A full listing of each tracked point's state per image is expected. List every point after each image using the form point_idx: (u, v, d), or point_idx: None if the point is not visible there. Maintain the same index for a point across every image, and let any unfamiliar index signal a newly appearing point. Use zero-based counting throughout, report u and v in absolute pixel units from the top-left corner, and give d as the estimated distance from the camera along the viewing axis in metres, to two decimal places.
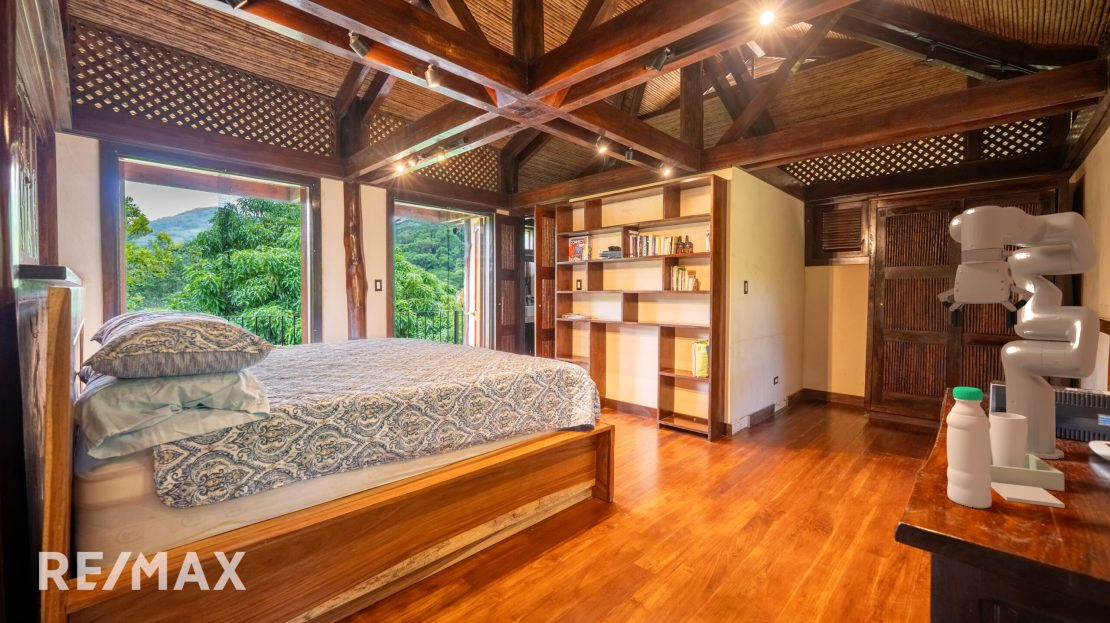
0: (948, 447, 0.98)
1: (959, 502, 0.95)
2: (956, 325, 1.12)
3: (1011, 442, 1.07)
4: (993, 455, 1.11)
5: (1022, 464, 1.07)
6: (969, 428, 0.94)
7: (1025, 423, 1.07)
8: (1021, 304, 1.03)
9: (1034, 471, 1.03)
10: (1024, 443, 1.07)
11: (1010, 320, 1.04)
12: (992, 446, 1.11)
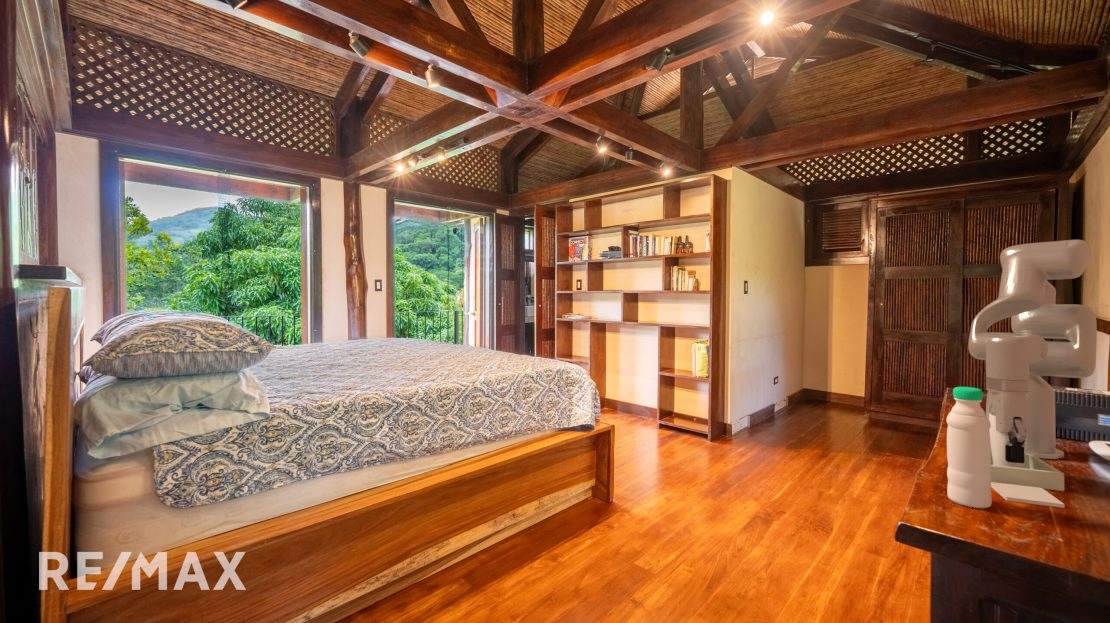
0: (948, 447, 0.98)
1: (959, 502, 0.95)
2: None
3: None
4: (993, 455, 1.11)
5: (1022, 464, 1.07)
6: (970, 428, 0.94)
7: None
8: None
9: (1034, 471, 1.03)
10: None
11: None
12: (992, 446, 1.11)
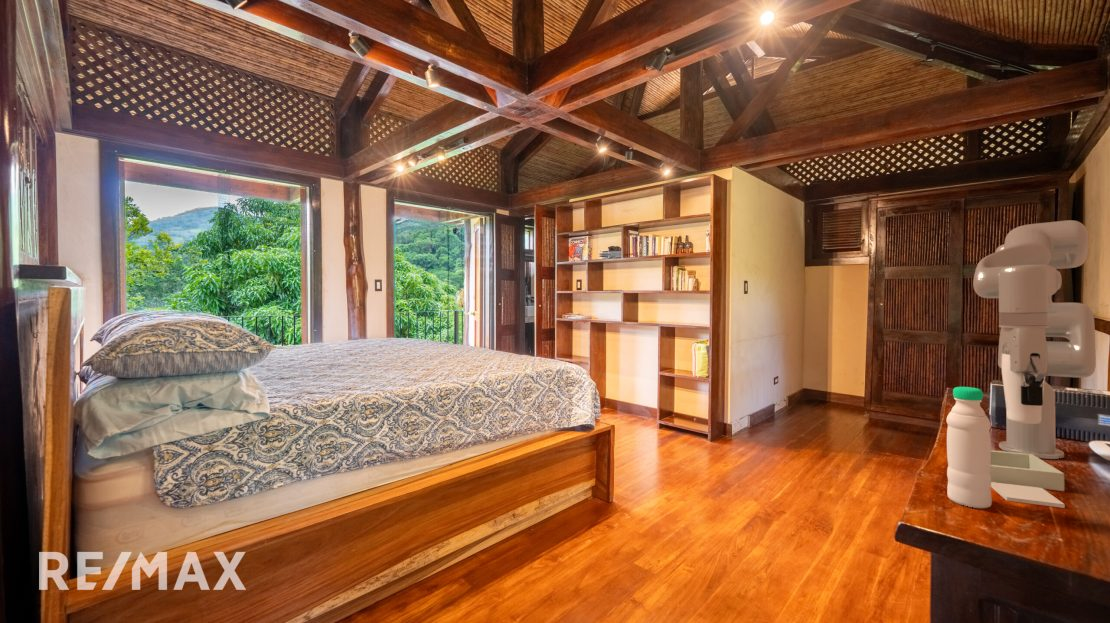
0: (948, 447, 0.98)
1: (959, 502, 0.95)
2: None
3: None
4: (1007, 399, 1.00)
5: (1039, 407, 0.96)
6: (970, 428, 0.94)
7: None
8: None
9: (1034, 471, 1.03)
10: None
11: None
12: (1005, 389, 1.00)
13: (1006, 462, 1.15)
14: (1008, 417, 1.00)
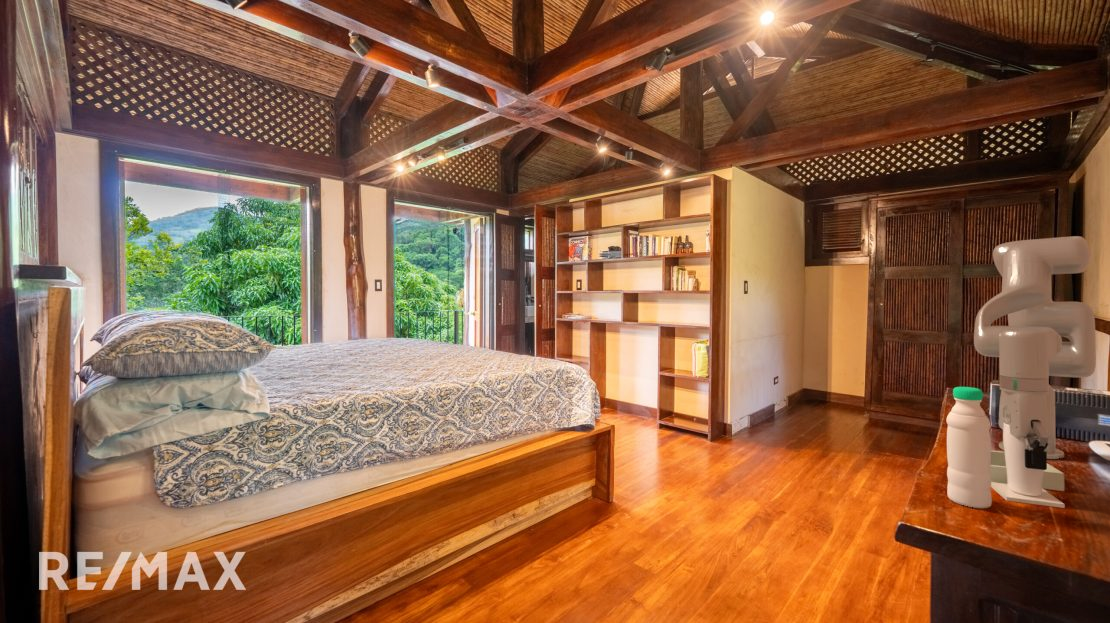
0: (948, 447, 0.98)
1: (959, 502, 0.95)
2: None
3: None
4: (1008, 469, 1.00)
5: (1041, 480, 0.96)
6: (969, 428, 0.94)
7: None
8: None
9: None
10: None
11: None
12: (1007, 459, 1.00)
13: None
14: (1009, 487, 1.00)
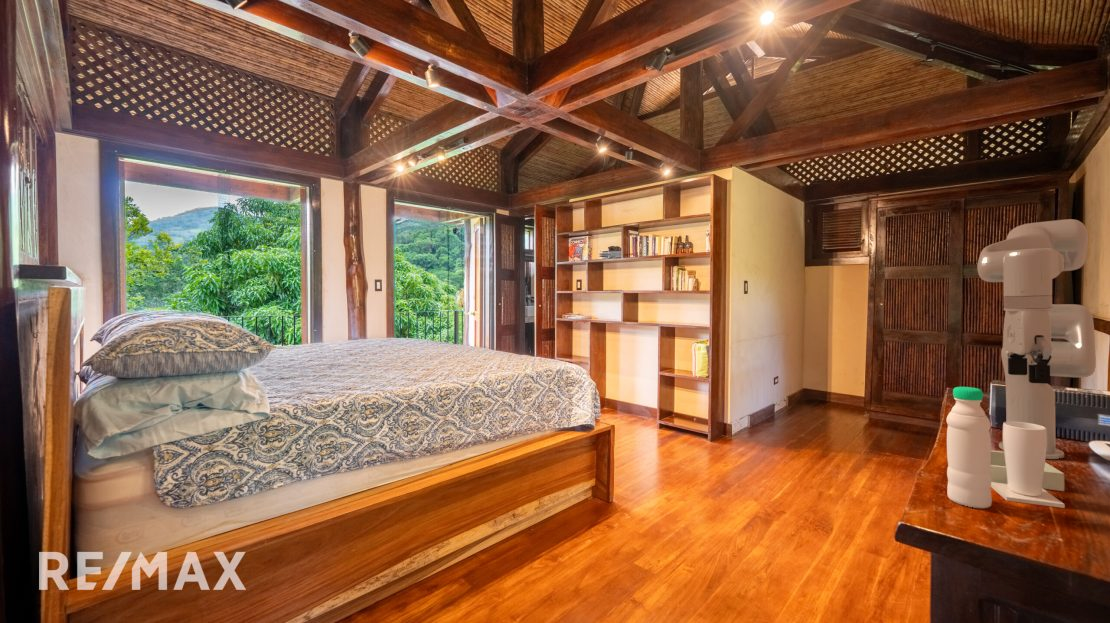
0: (948, 447, 0.98)
1: (959, 502, 0.95)
2: None
3: (1028, 456, 0.96)
4: (1008, 469, 1.00)
5: (1041, 480, 0.96)
6: (970, 428, 0.94)
7: (1045, 434, 0.96)
8: None
9: None
10: (1043, 456, 0.96)
11: None
12: (1007, 459, 1.00)
13: None
14: (1009, 487, 1.00)
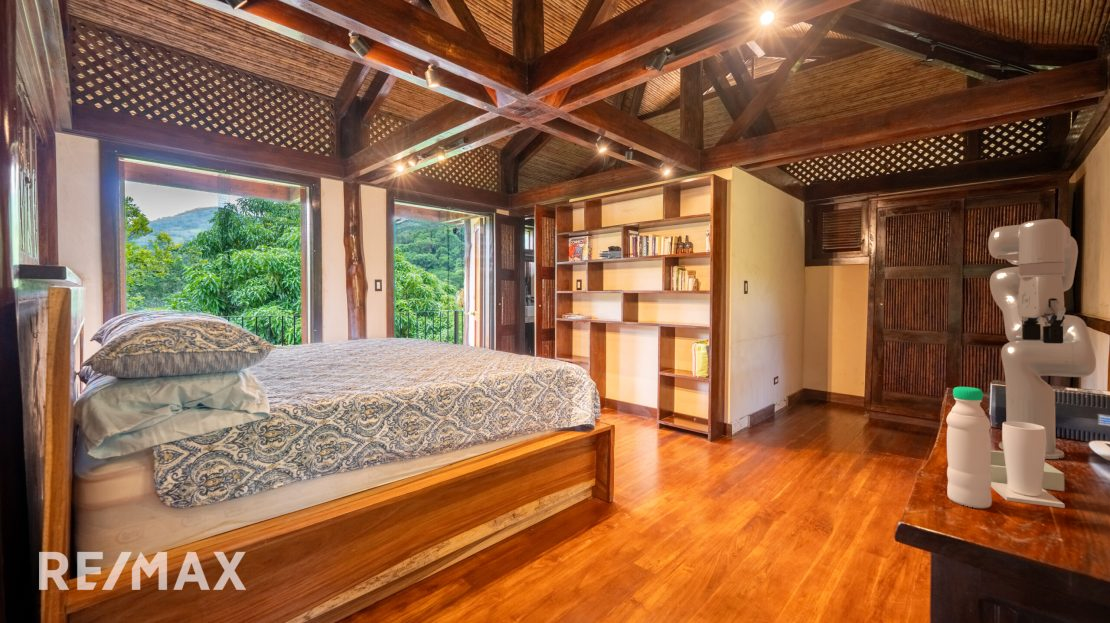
0: (948, 447, 0.98)
1: (959, 502, 0.95)
2: None
3: (1028, 456, 0.96)
4: (1007, 469, 1.00)
5: (1040, 480, 0.96)
6: (970, 428, 0.94)
7: (1044, 434, 0.96)
8: None
9: None
10: (1043, 456, 0.96)
11: None
12: (1006, 459, 1.00)
13: None
14: (1009, 487, 1.00)
